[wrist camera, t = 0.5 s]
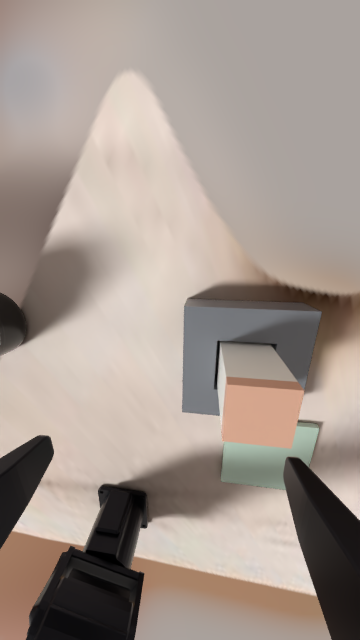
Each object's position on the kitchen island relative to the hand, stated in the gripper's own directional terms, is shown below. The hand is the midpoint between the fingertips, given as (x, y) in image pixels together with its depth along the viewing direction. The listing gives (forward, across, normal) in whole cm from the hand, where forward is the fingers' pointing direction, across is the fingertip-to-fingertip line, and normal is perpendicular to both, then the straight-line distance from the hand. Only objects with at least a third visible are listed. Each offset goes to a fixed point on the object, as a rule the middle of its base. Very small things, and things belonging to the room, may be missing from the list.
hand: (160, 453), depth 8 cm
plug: (+12, -5, +2) cm, 13 cm away
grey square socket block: (+13, -5, +2) cm, 14 cm away
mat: (+13, -8, +14) cm, 21 cm away
